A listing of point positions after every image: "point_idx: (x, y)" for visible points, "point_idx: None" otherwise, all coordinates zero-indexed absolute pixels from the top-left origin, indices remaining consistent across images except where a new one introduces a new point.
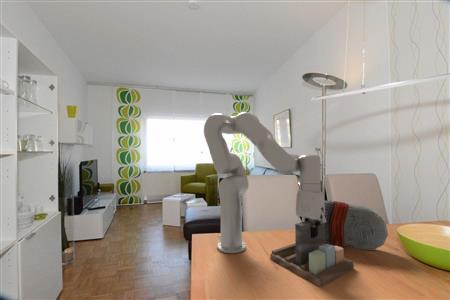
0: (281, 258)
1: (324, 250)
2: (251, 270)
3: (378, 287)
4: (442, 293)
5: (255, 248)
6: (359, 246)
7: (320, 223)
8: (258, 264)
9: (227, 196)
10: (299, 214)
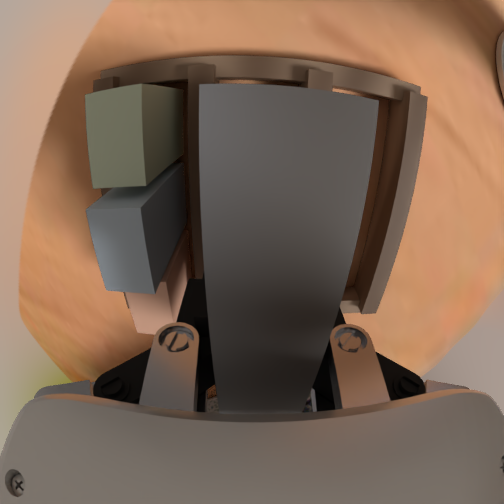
0: (355, 78)
1: (105, 204)
2: None
3: (47, 247)
4: (23, 321)
5: (489, 133)
6: (217, 402)
7: (88, 384)
8: (398, 10)
9: None
10: (440, 413)
